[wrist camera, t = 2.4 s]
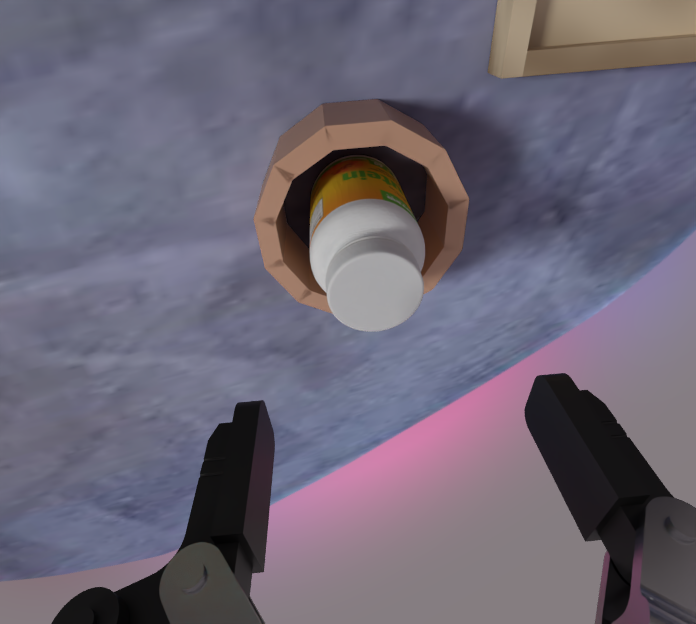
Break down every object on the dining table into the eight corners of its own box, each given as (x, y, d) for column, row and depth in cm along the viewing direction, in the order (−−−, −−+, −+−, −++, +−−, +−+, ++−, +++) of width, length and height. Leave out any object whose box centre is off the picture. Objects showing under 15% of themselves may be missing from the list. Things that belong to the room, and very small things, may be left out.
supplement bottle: (413, 166, 22) (466, 252, 15) (382, 247, 25) (413, 352, 18) (321, 141, 21) (328, 220, 14) (301, 229, 24) (297, 333, 17)
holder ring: (247, 110, 20) (233, 133, 16) (451, 92, 20) (481, 112, 17) (282, 280, 26) (278, 323, 23) (435, 265, 27) (454, 306, 23)
